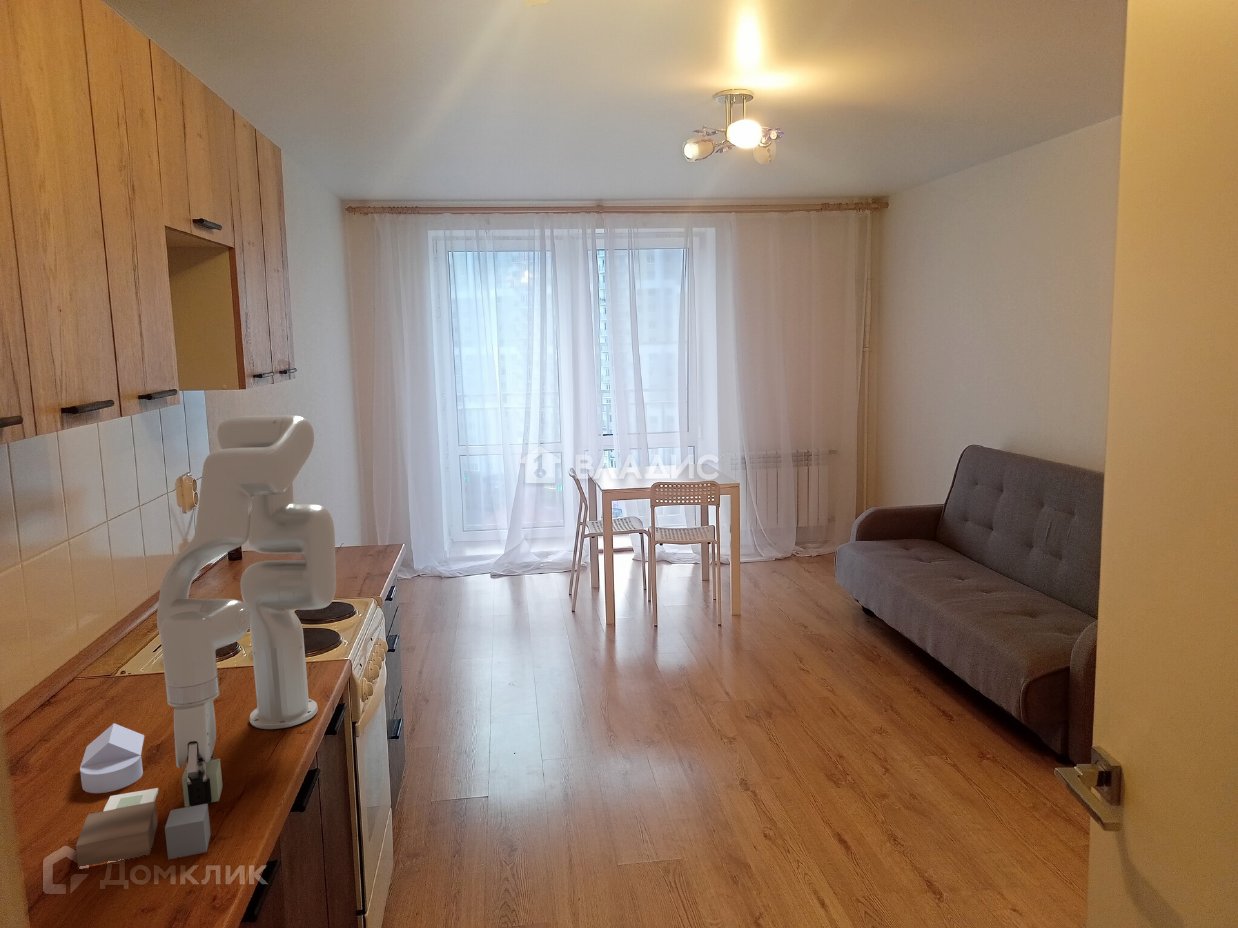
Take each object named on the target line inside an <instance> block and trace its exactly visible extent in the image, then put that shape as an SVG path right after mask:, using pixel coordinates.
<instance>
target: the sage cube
mask: <svg viewBox="0 0 1238 928" xmlns="http://www.w3.org/2000/svg"><path fill="white" fill-rule="evenodd" d="M213 759H214V760H210V761H209V762H208V763H207V779H208V778H210V787H211V796H212V801H211V803H215V802H216V803H217V802H220V798H221V794H222V790H223V779H222V778H223V776H222V768H221V767H222V766H221V758H213ZM198 769H199V770H201V771H202V766H198ZM202 773H203V772H202ZM181 783H182V792H183V801H184V808H186V807H191V806H190V805H189V796H188V787H187V764H186V765H185V769H184V771H183V775H182V776H181Z"/></svg>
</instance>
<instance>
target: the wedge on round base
mask: <svg viewBox="0 0 1238 928" xmlns="http://www.w3.org/2000/svg"><path fill="white" fill-rule="evenodd" d="M144 741H145V735H144V734H142V733H140V732H137V731H134V730H132V729H130V728H126V727H124V726H122V725H119V724H117V723H112V724H111V725H110V726H109V727H108V728H106V729H105V730H104V731H103V732H102V733H101V734H100V735H98V736H97V737H96V738H94V740H93V741H91V743H89V744H88V745H87V746H86V748H85V751H84V755H83V758H82V761H81V764H80V766H79V771H80V781H81V787H82V790H83V791H85V792H86V793H88V794H89V793H90V794H102V793H109V792H114V791H117V790H118V791H119V790H121V789H124V788H126V787H129V786H130V785H132V784H134V783H136V782H137V781H138V780H140V779H141V778H142V776H143V774H144V770H143V769H144V768H143V761H142V751H143V745H144Z"/></svg>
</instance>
